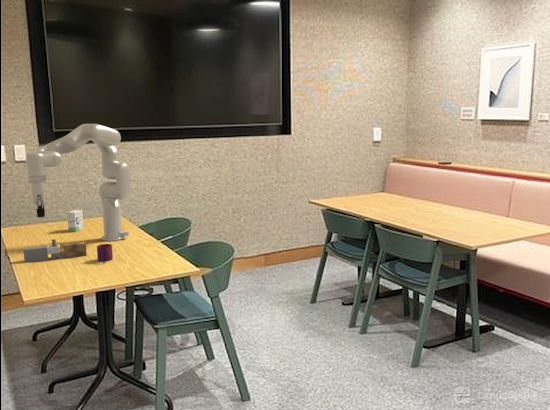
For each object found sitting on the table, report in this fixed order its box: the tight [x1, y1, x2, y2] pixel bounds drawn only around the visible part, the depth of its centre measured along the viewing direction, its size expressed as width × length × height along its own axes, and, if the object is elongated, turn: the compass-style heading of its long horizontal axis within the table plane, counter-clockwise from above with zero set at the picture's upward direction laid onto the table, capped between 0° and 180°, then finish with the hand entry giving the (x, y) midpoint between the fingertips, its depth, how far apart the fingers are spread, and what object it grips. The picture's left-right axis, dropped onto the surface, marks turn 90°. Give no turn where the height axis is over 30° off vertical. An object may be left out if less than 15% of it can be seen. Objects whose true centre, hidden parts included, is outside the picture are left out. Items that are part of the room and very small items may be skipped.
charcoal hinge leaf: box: [23, 243, 61, 263], centre depth 248 cm, size 16×6×6 cm, turn 112°
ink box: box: [67, 209, 84, 233], centre depth 310 cm, size 9×5×12 cm, turn 168°
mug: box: [96, 243, 114, 262], centre depth 245 cm, size 7×10×7 cm
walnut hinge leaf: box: [50, 238, 87, 260], centre depth 252 cm, size 16×4×9 cm, turn 113°
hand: (41, 215), depth 247 cm, fingers open, 9 cm apart
